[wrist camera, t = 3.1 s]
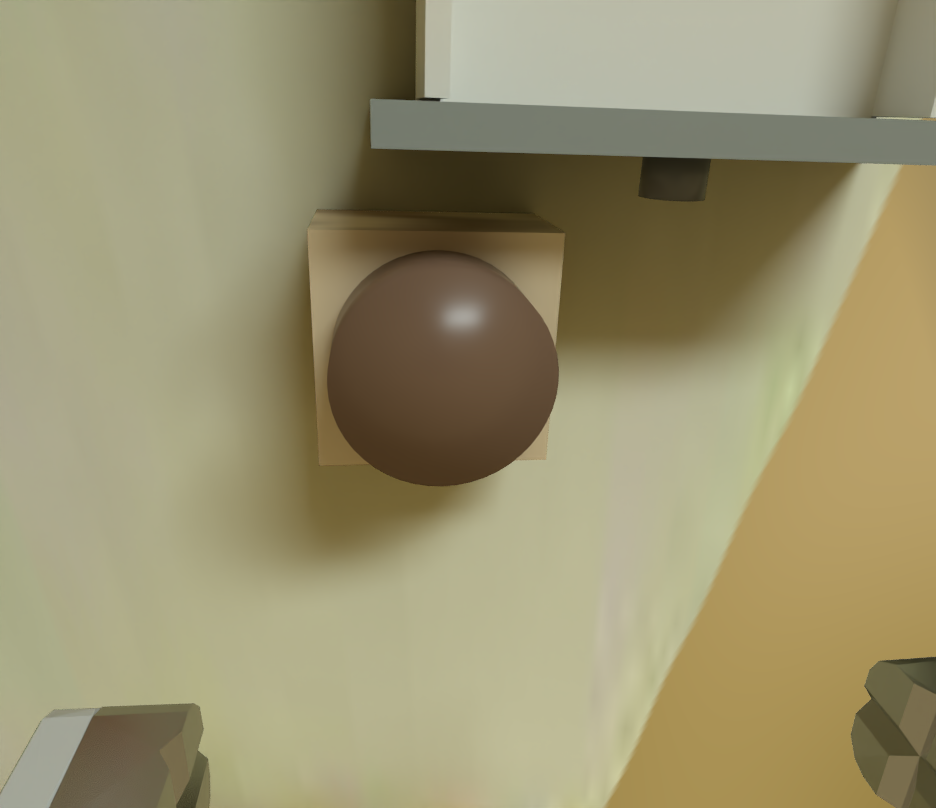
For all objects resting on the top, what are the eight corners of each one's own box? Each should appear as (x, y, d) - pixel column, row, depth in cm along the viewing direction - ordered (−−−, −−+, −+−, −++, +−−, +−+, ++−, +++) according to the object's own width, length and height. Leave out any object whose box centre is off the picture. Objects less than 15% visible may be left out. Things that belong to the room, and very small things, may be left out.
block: (326, 413, 25) (319, 465, 21) (317, 209, 22) (307, 229, 19) (521, 409, 26) (545, 459, 22) (534, 213, 23) (565, 233, 20)
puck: (335, 450, 21) (331, 489, 19) (327, 248, 19) (321, 267, 17) (531, 445, 22) (549, 482, 20) (546, 251, 20) (568, 269, 18)
